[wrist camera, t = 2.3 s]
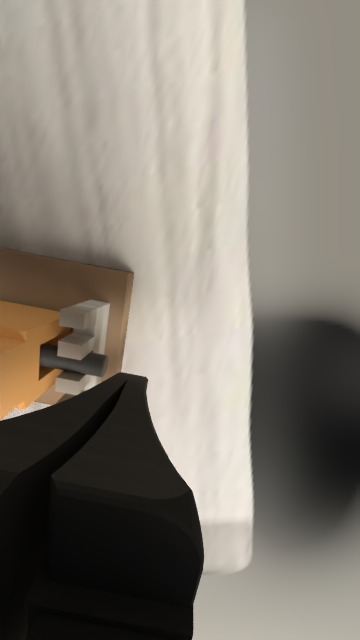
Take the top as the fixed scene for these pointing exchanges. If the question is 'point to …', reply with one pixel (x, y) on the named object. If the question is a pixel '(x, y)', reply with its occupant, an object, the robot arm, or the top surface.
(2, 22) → the top surface
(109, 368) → the cord board
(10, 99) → the top surface
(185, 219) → the top surface
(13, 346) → the orange notched block
